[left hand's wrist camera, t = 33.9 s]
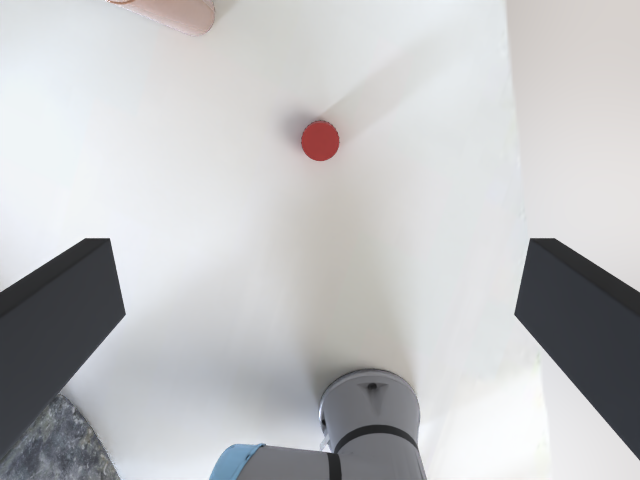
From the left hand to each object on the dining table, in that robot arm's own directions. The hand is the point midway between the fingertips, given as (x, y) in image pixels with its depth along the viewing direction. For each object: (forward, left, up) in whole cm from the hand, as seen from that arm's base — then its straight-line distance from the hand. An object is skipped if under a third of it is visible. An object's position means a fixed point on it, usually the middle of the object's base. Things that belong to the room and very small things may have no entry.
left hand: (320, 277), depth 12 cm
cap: (0, 0, -36) cm, 36 cm away
